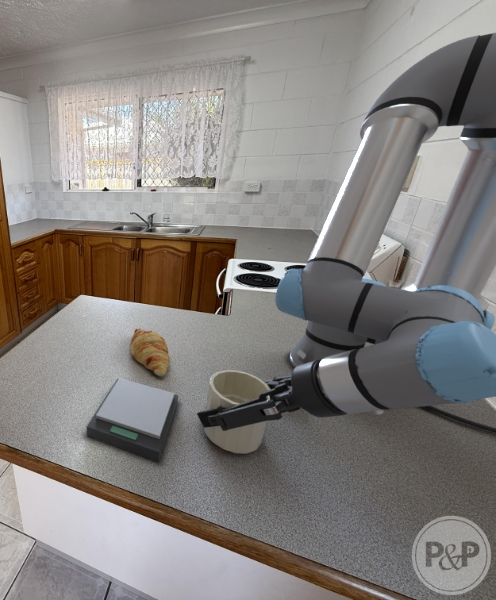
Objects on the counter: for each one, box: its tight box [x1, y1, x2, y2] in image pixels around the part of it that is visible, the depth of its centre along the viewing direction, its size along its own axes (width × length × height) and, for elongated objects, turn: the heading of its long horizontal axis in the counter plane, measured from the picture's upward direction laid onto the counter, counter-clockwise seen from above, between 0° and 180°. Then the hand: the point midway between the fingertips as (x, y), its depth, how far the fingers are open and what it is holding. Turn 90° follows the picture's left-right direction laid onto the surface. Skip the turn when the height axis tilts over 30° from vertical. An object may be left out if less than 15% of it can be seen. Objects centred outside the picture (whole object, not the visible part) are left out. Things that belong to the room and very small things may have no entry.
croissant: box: [129, 328, 171, 377], centre depth 83 cm, size 21×10×8 cm, turn 11°
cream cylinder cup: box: [202, 369, 271, 454], centre depth 58 cm, size 10×10×11 cm
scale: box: [86, 377, 179, 463], centre depth 63 cm, size 14×16×3 cm
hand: (220, 407), depth 60 cm, fingers closed on cream cylinder cup, 10 cm apart
